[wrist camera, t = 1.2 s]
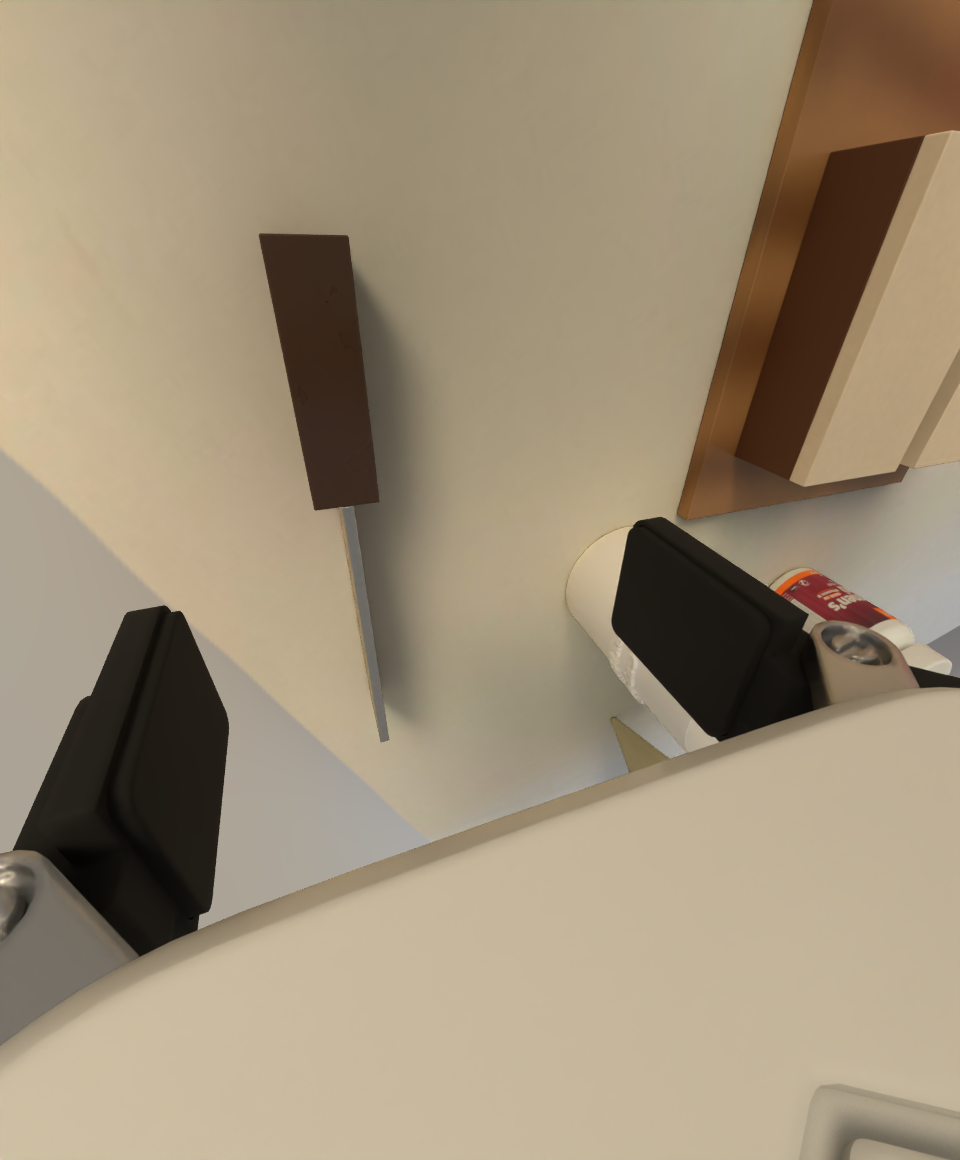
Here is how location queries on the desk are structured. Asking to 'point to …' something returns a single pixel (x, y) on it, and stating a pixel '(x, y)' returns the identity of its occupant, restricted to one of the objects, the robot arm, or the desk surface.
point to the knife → (328, 396)
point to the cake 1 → (863, 316)
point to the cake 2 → (939, 425)
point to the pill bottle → (853, 614)
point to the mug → (593, 610)
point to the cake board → (805, 140)
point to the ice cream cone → (636, 748)
